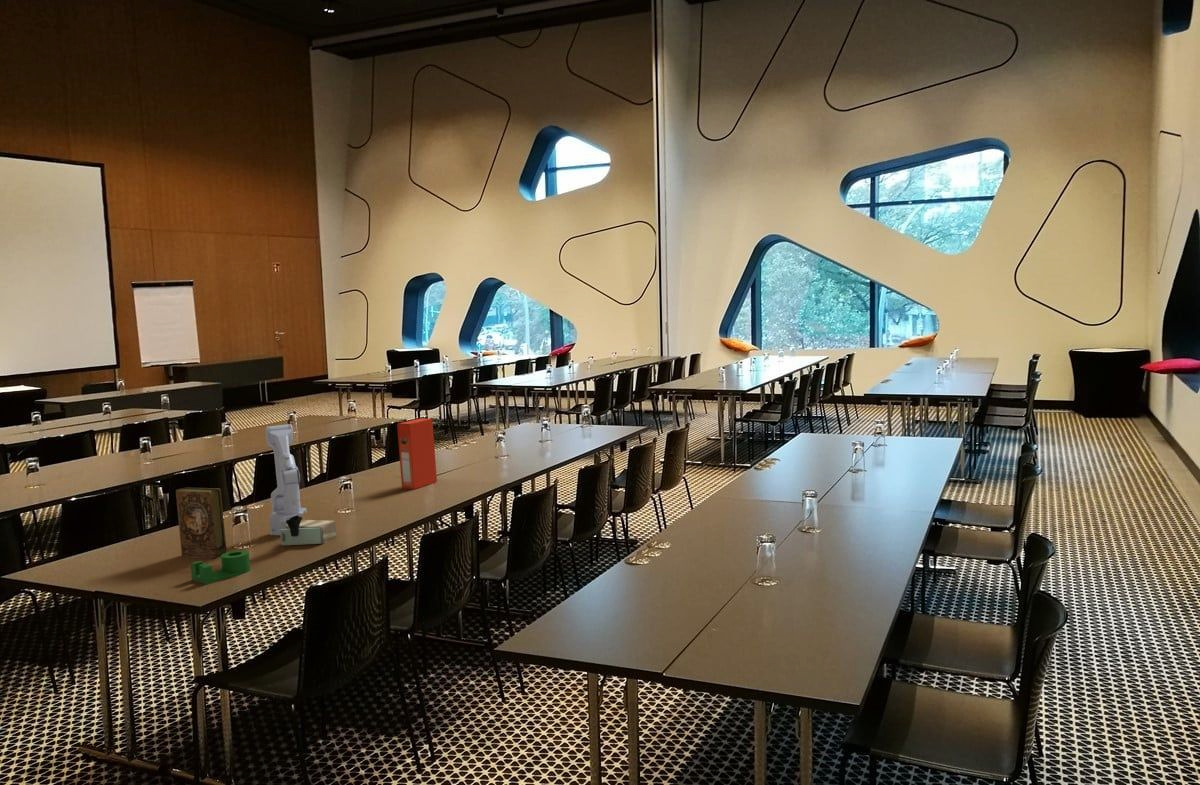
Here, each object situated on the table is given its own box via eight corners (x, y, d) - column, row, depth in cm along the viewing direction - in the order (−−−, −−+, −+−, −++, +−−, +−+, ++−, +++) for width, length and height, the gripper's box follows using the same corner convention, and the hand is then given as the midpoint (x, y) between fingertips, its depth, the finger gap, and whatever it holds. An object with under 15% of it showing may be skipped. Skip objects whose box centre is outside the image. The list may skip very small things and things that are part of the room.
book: (179, 557, 328) (172, 490, 325) (190, 552, 333) (183, 487, 330) (216, 558, 323) (210, 491, 320) (227, 554, 328) (220, 488, 325)
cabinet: (287, 542, 342) (285, 525, 341) (300, 535, 350) (299, 519, 349) (323, 543, 337) (322, 526, 337) (336, 537, 346) (335, 520, 345)
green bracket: (241, 566, 313) (240, 548, 312) (255, 570, 308) (253, 552, 307) (192, 580, 299) (190, 562, 298) (205, 585, 294) (203, 566, 293)
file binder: (401, 488, 430) (397, 423, 426) (424, 481, 445) (420, 418, 442) (414, 489, 426) (410, 424, 423) (436, 482, 442) (432, 418, 438)
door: (280, 546, 335) (279, 530, 334) (282, 544, 337) (281, 529, 336) (321, 544, 335) (320, 528, 334) (323, 542, 337) (322, 527, 337)
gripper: (290, 505, 325) (292, 541, 327) (312, 496, 339) (315, 531, 341) (273, 505, 327) (276, 541, 329) (296, 496, 341) (299, 530, 342)
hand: (294, 536), depth 335 cm, fingers closed
